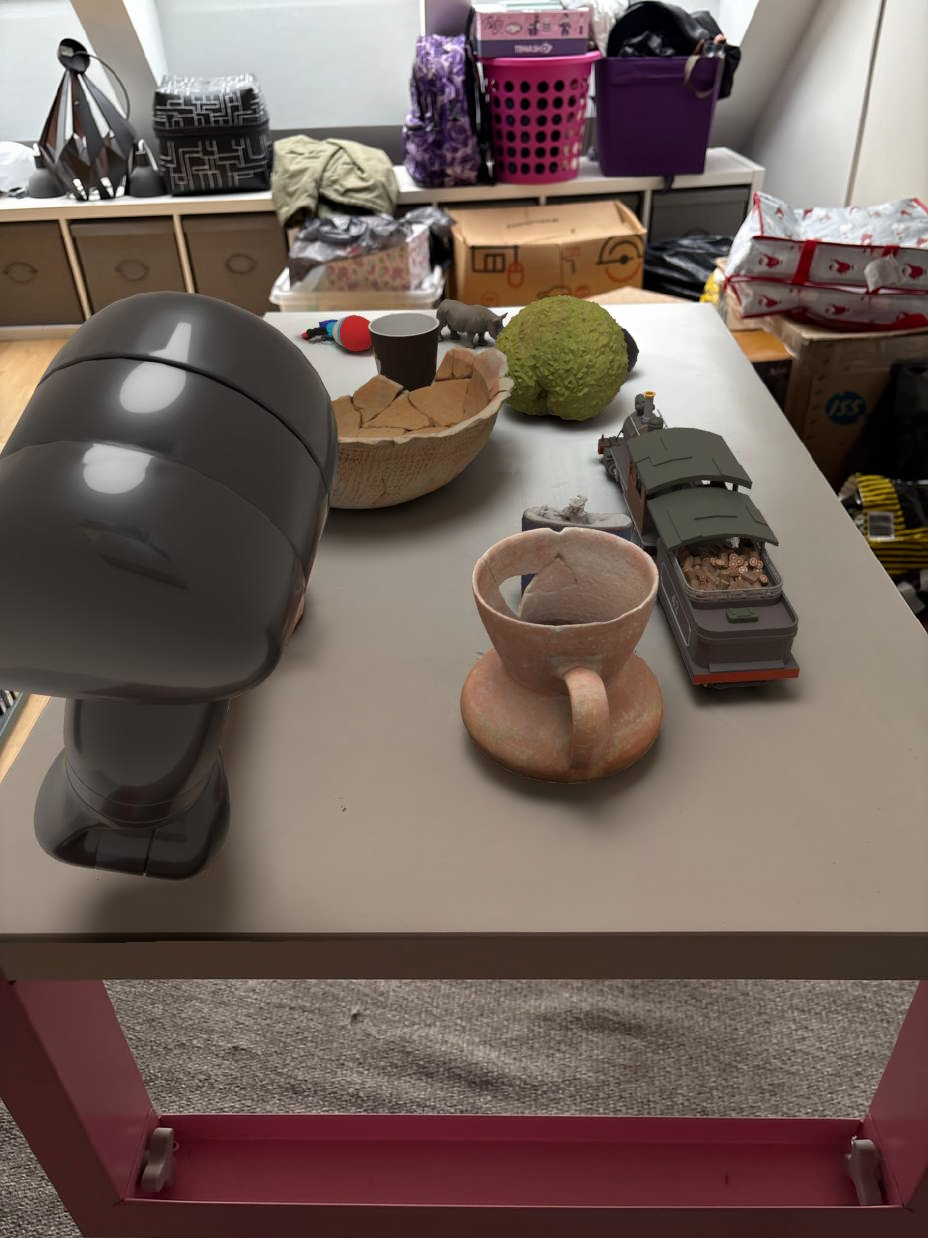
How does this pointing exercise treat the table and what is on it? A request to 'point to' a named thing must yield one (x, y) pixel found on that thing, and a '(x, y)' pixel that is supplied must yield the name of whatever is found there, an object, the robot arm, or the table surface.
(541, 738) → the ceramic jug
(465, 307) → the rhino figurine
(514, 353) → the fruit
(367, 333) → the toy figure
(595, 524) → the flask
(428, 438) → the ceramic bowl
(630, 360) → the figurine
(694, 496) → the toy train
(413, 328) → the coffee mug
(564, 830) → the table surface
